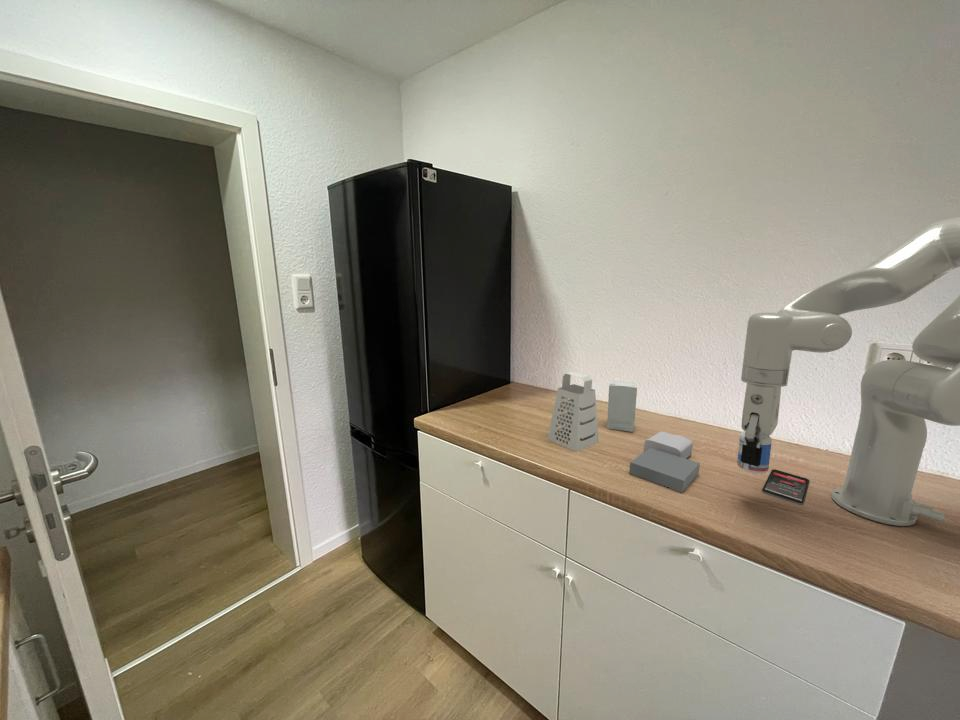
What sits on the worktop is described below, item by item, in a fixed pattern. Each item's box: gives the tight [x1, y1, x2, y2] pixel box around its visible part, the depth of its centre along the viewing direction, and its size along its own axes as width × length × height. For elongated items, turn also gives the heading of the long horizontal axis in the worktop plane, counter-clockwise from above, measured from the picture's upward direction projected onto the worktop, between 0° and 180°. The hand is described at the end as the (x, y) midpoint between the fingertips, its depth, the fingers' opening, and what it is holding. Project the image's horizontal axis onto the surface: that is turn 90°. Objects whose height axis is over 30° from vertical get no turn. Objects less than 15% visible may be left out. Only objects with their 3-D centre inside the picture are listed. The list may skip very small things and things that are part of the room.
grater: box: [546, 371, 600, 453], centre depth 110 cm, size 10×10×20 cm
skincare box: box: [606, 380, 638, 433], centre depth 121 cm, size 8×6×15 cm
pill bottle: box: [736, 429, 772, 475], centre depth 80 cm, size 6×5×10 cm
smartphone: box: [761, 468, 810, 506], centre depth 89 cm, size 7×1×15 cm
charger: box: [643, 431, 694, 459], centre depth 105 cm, size 5×9×15 cm
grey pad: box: [629, 448, 701, 494], centre depth 93 cm, size 12×12×3 cm
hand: (753, 457), depth 80 cm, fingers closed on pill bottle, 5 cm apart
